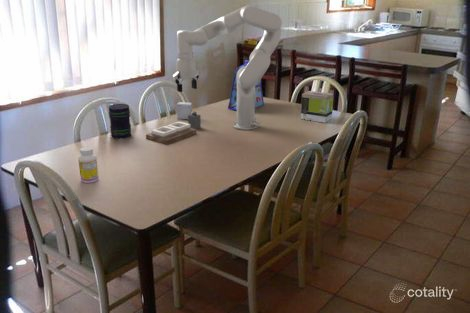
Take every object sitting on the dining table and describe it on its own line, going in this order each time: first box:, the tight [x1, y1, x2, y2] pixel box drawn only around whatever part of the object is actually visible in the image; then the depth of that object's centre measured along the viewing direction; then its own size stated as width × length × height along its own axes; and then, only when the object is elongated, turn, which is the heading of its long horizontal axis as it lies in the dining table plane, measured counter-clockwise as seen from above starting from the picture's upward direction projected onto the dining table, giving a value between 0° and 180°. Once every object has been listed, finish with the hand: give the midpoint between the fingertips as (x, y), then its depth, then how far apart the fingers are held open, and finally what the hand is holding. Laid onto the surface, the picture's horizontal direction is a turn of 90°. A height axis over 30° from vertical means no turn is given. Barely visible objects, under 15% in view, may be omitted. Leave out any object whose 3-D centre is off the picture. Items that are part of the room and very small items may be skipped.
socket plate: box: [151, 120, 190, 138], centre depth 224 cm, size 10×19×2 cm, turn 143°
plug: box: [187, 111, 202, 130], centre depth 236 cm, size 5×4×8 cm
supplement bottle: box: [77, 146, 100, 184], centre depth 172 cm, size 7×7×13 cm
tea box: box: [300, 90, 334, 124], centre depth 251 cm, size 15×10×15 cm
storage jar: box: [108, 103, 132, 140], centre depth 222 cm, size 10×10×15 cm
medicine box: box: [176, 101, 193, 120], centre depth 252 cm, size 8×4×9 cm, turn 84°
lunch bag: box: [227, 59, 265, 111], centre depth 272 cm, size 22×14×29 cm, turn 147°
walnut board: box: [145, 128, 197, 145], centre depth 224 cm, size 14×21×2 cm, turn 143°
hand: (187, 90), depth 230 cm, fingers open, 9 cm apart
